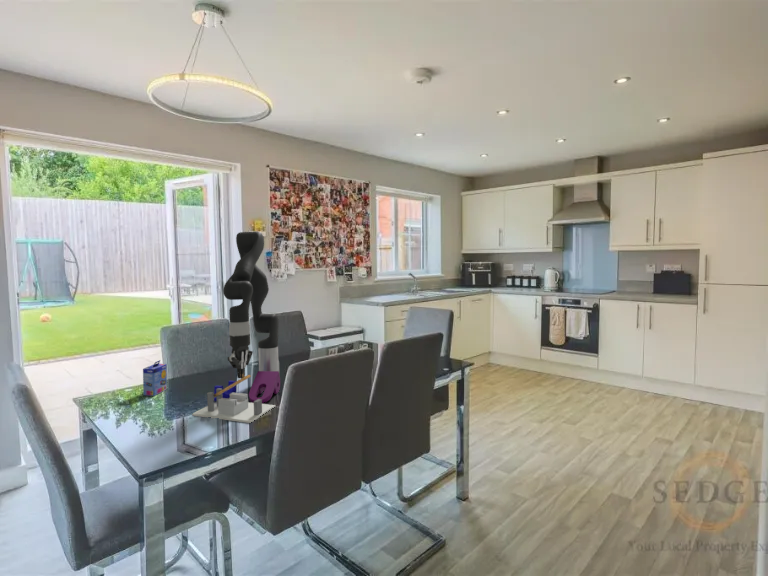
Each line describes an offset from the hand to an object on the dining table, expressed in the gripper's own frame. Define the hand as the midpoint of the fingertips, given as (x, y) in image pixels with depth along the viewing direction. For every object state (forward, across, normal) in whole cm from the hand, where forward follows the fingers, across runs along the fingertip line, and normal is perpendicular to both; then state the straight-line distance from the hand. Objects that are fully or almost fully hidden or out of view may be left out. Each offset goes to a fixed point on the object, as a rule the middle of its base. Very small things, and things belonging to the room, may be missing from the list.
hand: (241, 377), depth 163 cm
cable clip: (+14, -13, -19) cm, 27 cm away
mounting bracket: (+14, -20, -4) cm, 25 cm away
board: (+14, -2, -5) cm, 15 cm away
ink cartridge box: (+14, -12, -54) cm, 57 cm away
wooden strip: (+5, 0, -5) cm, 7 cm away
